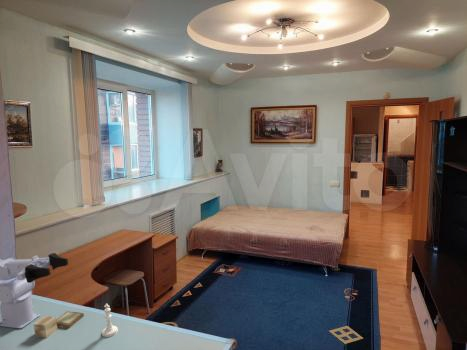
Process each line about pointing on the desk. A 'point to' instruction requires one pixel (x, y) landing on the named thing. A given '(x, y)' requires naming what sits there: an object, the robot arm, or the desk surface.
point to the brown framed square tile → (68, 319)
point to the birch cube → (45, 326)
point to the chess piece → (109, 324)
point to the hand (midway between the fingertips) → (58, 266)
